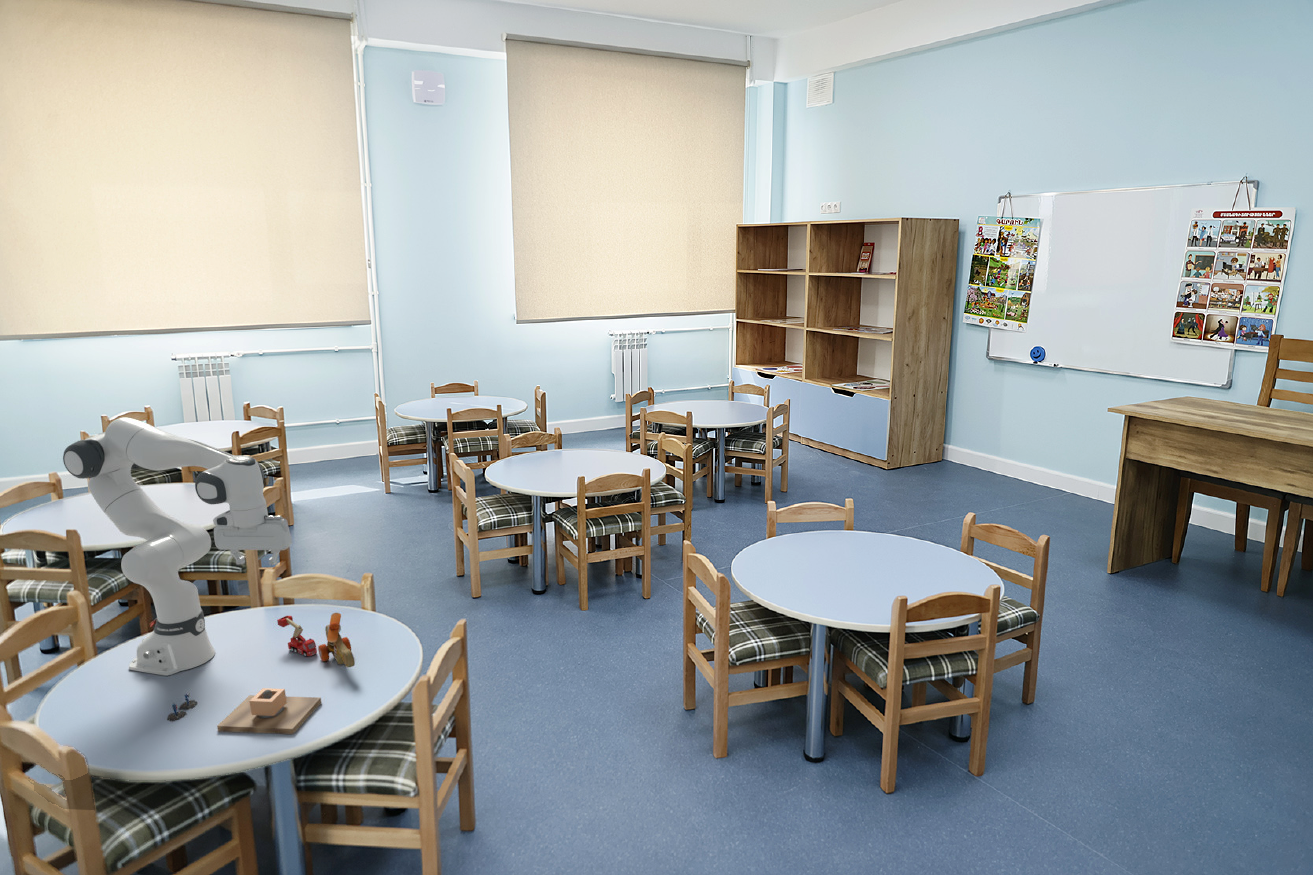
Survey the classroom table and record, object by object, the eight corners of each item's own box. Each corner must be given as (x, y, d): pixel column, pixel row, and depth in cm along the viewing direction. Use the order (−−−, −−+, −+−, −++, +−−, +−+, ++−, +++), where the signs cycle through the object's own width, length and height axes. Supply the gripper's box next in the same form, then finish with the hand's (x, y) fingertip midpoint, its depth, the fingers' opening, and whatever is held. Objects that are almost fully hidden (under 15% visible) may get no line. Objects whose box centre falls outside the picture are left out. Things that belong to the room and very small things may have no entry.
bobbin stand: (218, 731, 205) (213, 704, 203) (250, 700, 219) (246, 674, 217) (293, 734, 203) (289, 706, 201) (321, 702, 217) (317, 676, 215)
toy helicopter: (346, 647, 246) (340, 605, 242) (369, 675, 230) (363, 631, 226) (318, 656, 241) (311, 613, 238) (339, 685, 225) (333, 640, 221)
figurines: (179, 723, 210) (176, 708, 209) (161, 722, 210) (158, 707, 209) (203, 701, 220) (200, 687, 218) (186, 701, 220) (183, 686, 219)
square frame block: (251, 715, 208) (249, 700, 207) (265, 701, 214) (262, 688, 213) (274, 715, 207) (271, 701, 206) (286, 702, 213) (284, 688, 212)
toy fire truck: (309, 658, 240) (304, 628, 238) (280, 647, 247) (276, 618, 245) (318, 653, 243) (314, 623, 240) (290, 642, 250) (286, 613, 248)
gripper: (292, 512, 221) (299, 559, 224) (221, 511, 223) (229, 559, 226) (279, 520, 215) (287, 569, 218) (207, 519, 217) (215, 568, 220)
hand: (257, 563), depth 222 cm, fingers open, 8 cm apart
